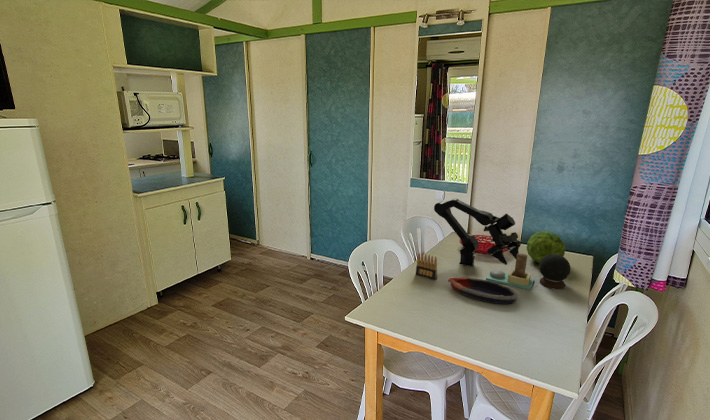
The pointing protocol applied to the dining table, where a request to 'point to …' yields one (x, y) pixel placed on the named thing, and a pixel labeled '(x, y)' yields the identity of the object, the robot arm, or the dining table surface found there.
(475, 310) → the dining table surface
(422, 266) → the ammunition clip
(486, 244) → the bowl
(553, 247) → the lettuce
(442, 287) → the dining table surface
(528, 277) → the carrier plate
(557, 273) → the black ball on stand
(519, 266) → the walnut dowel
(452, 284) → the dish
